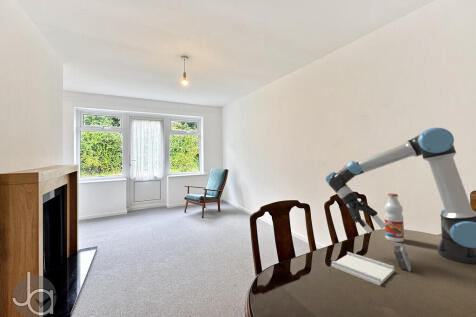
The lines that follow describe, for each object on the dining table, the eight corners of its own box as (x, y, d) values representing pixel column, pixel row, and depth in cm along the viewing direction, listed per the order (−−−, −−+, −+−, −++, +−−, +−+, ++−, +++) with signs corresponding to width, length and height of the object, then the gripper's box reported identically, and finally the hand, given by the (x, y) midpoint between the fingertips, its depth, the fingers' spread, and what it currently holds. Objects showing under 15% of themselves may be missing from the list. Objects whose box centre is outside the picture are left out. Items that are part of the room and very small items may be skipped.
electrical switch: (411, 272, 93) (407, 250, 94) (396, 270, 96) (393, 249, 97) (410, 264, 100) (407, 244, 101) (397, 262, 103) (394, 242, 104)
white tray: (394, 271, 94) (394, 265, 94) (379, 285, 84) (379, 279, 84) (348, 256, 110) (348, 251, 110) (331, 266, 100) (331, 261, 100)
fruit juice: (407, 240, 128) (406, 194, 129) (397, 243, 125) (395, 195, 125) (391, 235, 137) (390, 192, 138) (381, 238, 134) (380, 193, 134)
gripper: (355, 197, 129) (383, 228, 116) (329, 202, 116) (358, 238, 103) (364, 189, 124) (394, 221, 112) (338, 193, 111) (370, 230, 98)
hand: (377, 229), depth 107 cm, fingers open, 13 cm apart
